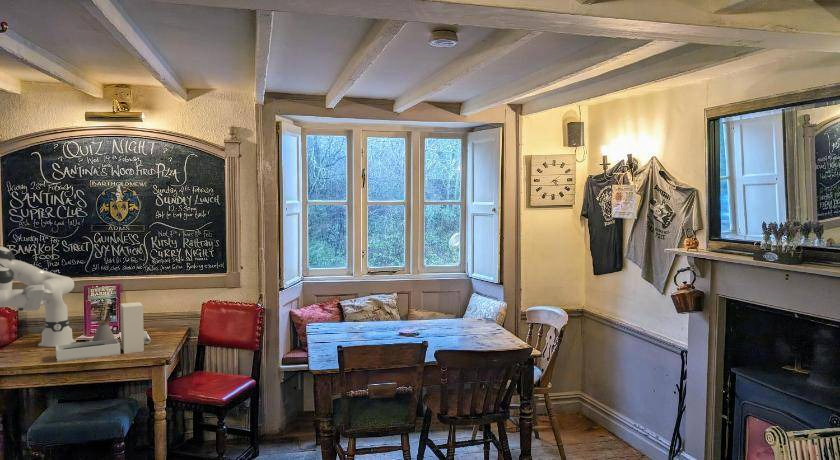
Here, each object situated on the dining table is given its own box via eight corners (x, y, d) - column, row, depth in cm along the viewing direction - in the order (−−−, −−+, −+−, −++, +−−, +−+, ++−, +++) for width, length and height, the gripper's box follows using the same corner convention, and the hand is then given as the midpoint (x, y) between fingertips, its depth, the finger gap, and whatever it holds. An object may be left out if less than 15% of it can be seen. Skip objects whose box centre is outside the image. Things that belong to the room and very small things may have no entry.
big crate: (55, 356, 331) (55, 345, 330) (117, 349, 347) (117, 338, 347) (57, 362, 320) (56, 350, 319) (120, 354, 336) (120, 343, 336)
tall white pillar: (121, 348, 348) (120, 303, 346) (140, 346, 353) (139, 302, 351) (124, 353, 338) (123, 307, 336) (143, 351, 343) (143, 305, 341)
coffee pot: (111, 344, 357) (111, 319, 356) (90, 345, 354) (89, 320, 353) (121, 336, 377) (121, 312, 377) (101, 336, 375) (100, 312, 374)
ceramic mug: (128, 345, 356) (128, 332, 355) (134, 341, 364) (134, 329, 363) (147, 345, 356) (147, 332, 356) (152, 342, 364) (152, 329, 364)
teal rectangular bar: (62, 355, 329) (62, 348, 328) (104, 350, 340) (104, 343, 339) (63, 357, 325) (63, 350, 325) (105, 352, 336) (105, 345, 336)
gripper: (23, 281, 309) (54, 281, 318) (18, 302, 322) (48, 301, 331) (23, 292, 306) (55, 291, 315) (18, 313, 319) (49, 311, 328)
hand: (51, 297), depth 323 cm, fingers open, 8 cm apart
